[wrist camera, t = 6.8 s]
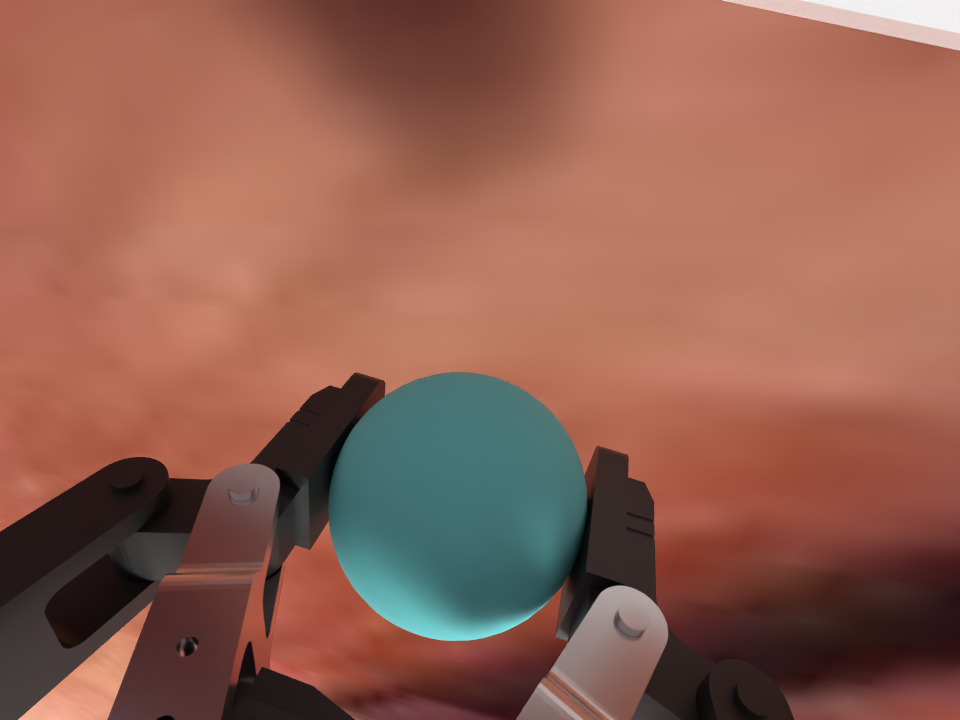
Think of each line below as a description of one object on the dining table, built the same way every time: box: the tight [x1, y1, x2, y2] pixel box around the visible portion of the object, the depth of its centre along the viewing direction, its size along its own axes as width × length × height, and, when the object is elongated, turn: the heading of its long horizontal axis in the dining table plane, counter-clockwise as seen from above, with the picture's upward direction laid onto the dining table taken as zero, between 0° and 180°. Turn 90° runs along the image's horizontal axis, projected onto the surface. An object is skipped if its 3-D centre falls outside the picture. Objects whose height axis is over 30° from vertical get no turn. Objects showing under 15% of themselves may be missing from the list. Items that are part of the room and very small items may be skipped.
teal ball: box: [328, 372, 588, 641], centre depth 12 cm, size 6×6×6 cm
